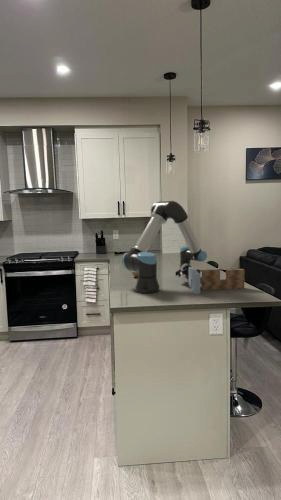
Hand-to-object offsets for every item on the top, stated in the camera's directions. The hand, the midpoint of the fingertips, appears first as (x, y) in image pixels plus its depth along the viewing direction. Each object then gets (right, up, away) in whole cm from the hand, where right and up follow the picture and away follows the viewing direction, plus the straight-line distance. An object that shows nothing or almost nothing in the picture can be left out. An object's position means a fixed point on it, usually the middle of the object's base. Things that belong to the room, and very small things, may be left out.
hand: (192, 275), depth 202 cm
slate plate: (0, -8, -7) cm, 11 cm away
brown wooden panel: (+18, -7, -7) cm, 20 cm away
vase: (-35, -4, +33) cm, 49 cm away
